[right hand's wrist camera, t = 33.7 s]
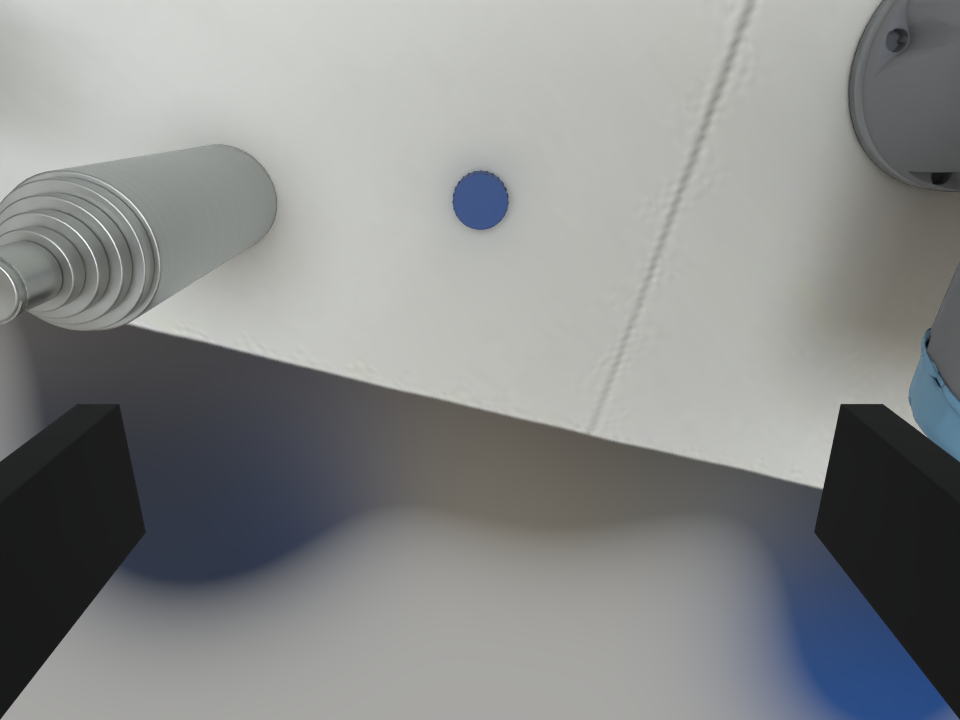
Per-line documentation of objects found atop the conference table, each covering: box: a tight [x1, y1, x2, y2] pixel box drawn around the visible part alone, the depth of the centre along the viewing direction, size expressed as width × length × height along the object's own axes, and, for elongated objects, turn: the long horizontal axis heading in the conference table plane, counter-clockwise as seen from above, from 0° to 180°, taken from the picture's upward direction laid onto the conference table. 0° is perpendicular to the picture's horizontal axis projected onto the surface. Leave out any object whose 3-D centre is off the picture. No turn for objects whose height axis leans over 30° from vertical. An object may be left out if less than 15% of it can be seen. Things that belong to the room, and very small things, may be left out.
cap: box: [453, 170, 508, 230], centre depth 47 cm, size 4×4×2 cm
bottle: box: [0, 145, 277, 331], centre depth 36 cm, size 7×7×25 cm
